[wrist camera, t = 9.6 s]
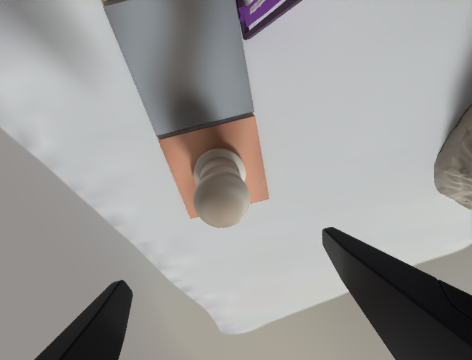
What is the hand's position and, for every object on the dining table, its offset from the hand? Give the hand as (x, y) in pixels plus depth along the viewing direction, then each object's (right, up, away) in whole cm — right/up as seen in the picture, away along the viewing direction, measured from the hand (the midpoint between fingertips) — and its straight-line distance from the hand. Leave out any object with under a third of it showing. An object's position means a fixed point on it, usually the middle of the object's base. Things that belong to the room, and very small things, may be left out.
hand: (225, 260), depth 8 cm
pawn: (-1, +4, +9) cm, 11 cm away
